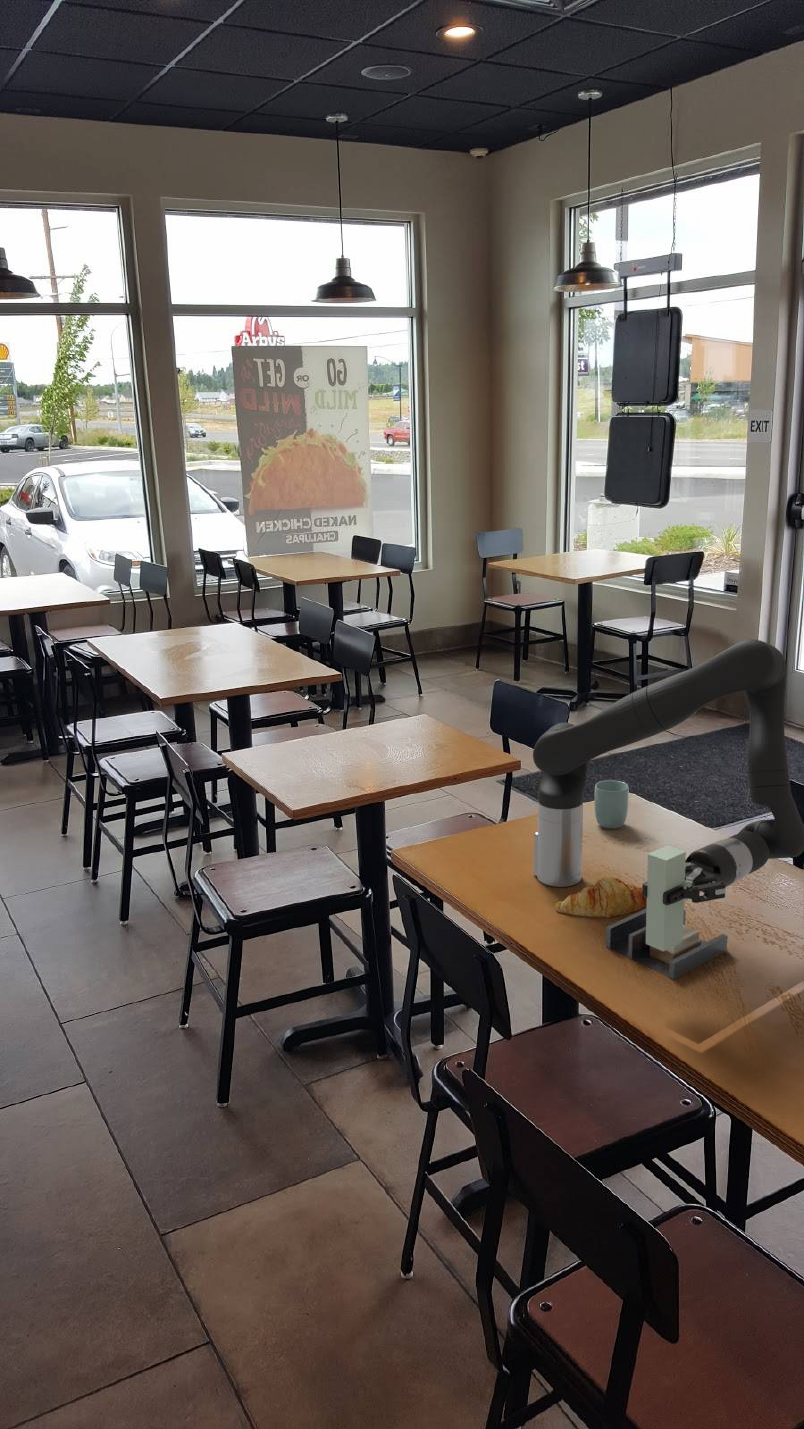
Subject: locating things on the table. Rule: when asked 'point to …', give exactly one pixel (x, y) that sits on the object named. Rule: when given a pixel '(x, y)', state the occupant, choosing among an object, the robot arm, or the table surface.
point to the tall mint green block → (661, 918)
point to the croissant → (604, 899)
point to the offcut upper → (686, 940)
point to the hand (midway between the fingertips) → (654, 895)
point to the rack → (632, 944)
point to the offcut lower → (668, 956)
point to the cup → (611, 803)
